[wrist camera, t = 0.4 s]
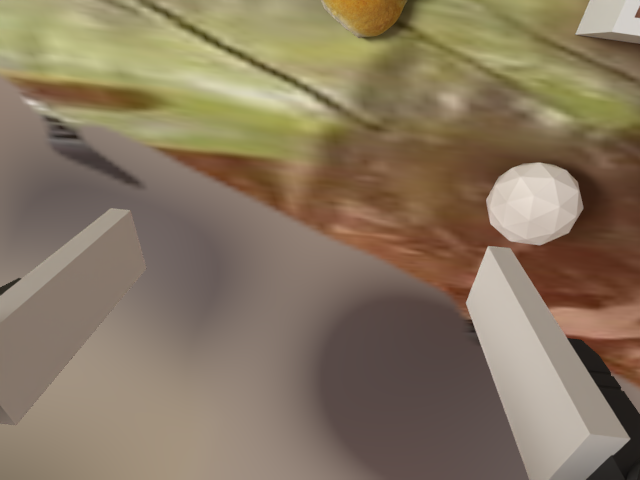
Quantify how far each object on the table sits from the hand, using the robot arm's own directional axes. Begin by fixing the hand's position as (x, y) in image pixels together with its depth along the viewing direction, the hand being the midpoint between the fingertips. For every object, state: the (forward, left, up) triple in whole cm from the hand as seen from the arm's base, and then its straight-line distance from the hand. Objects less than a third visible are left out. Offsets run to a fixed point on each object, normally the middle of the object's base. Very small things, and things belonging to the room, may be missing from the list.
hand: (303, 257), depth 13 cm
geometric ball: (+4, +18, -27) cm, 32 cm away
